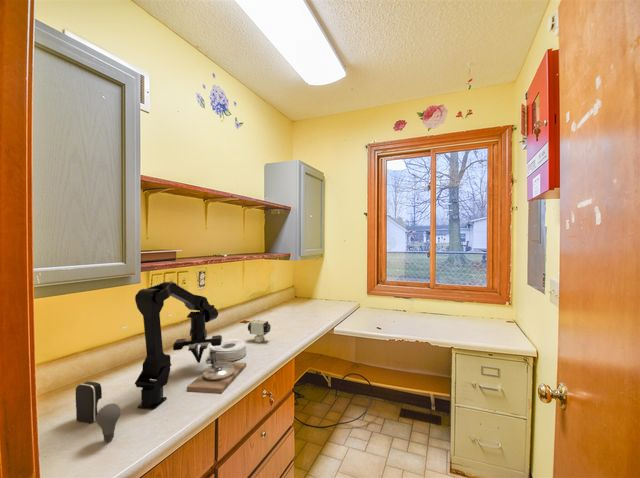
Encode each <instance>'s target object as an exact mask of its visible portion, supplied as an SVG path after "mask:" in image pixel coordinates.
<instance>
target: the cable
mask: <svg viewBox="0 0 640 478" xmlns="http://www.w3.org/2000/svg"><path fill="white" fill-rule="evenodd" d="M213 350H215V351H216V362H233V361H234V362H235V361H237V360H240V359H242V358H244V357H245V356H246V354H247V344H246V341H244V340H242V339H226V340H222V343H221V345H220V346H212V345H211V344H210V346H209V352H208V357H207V358H206V359H205V362H206V364H210V351H213Z"/></svg>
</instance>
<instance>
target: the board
mask: <svg viewBox="0 0 640 478" xmlns="http://www.w3.org/2000/svg"><path fill="white" fill-rule="evenodd" d="M221 363H228V364H232V365H233V366H234V373H233V375H231V376H230V377H228V378H225V379H222V380H217V381H209V380H206V379H204V377H203V373H201V374H200V375H198V377H197V378H196V379H194V380H193V381H192V382H191V383H189V384H188V385H187V386H186V392H200V393H213V394H222V393H224V391H225V390H227V388H228V387H229V386H230V385H231V384H232V383H233V382H234V381H235V379H237V377H238V376H239V375H240V374H241V373H242V372H243V370H244V369H245V368H246V367H247V362H237V361H234V362H233V361H230V362H216V364H221Z"/></svg>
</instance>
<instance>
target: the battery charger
mask: <svg viewBox="0 0 640 478" xmlns="http://www.w3.org/2000/svg"><path fill="white" fill-rule="evenodd" d="M102 393H103V392H102V385H101V383H99V382H95V381H86V382H85V381H84V382H83V383H80V384H78V385H77V386H76V387H75V410H76V412H75V413H76V414H75V415H76V416H75V417H76V419H75V420H76V421H79V422H82V423H83V422H84V423H87V424H92V423H95V422H96V416H97V413H98V404H99V401H100V400H101V399H102V398H103V397H102V395H103V394H102Z"/></svg>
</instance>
